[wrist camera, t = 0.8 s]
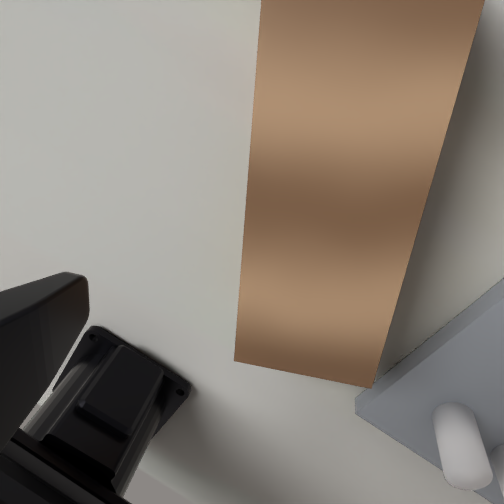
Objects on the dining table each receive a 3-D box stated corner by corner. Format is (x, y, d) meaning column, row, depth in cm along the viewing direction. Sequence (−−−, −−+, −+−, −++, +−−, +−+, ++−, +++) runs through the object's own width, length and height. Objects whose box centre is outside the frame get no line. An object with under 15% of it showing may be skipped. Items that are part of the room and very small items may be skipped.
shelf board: (367, 326, 20) (371, 388, 17) (253, 305, 21) (233, 360, 17) (460, -28, 13) (497, -47, 10) (286, -40, 14) (265, -61, 11)
